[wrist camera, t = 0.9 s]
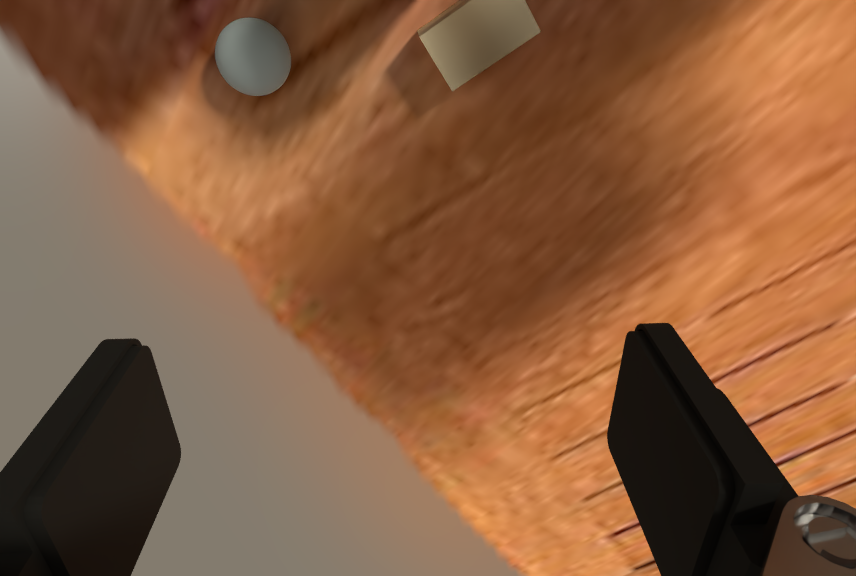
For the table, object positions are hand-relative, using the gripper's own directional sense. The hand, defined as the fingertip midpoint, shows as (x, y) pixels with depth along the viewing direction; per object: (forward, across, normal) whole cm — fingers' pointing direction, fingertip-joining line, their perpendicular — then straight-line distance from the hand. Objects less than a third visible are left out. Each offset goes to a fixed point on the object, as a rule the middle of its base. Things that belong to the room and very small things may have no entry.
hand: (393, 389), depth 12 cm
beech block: (+24, -4, -4) cm, 25 cm away
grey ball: (+22, +7, -3) cm, 23 cm away
